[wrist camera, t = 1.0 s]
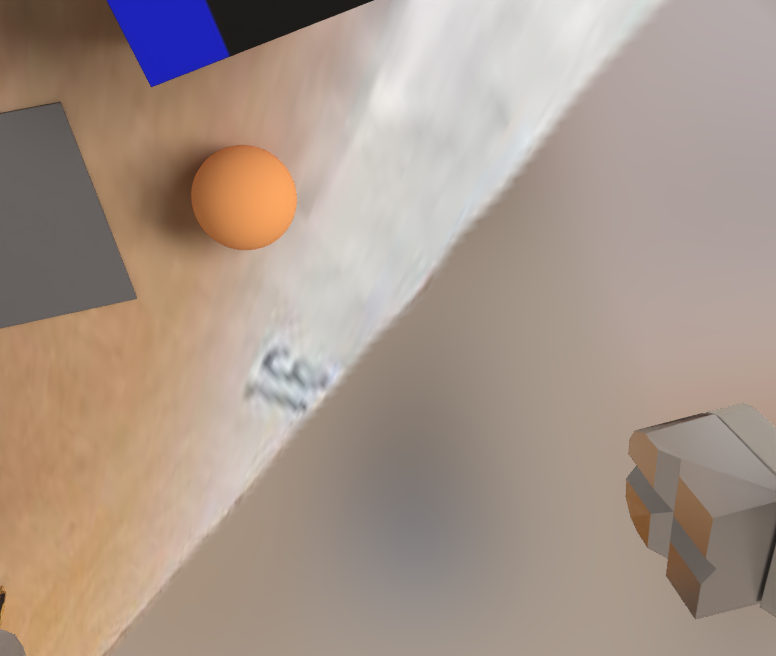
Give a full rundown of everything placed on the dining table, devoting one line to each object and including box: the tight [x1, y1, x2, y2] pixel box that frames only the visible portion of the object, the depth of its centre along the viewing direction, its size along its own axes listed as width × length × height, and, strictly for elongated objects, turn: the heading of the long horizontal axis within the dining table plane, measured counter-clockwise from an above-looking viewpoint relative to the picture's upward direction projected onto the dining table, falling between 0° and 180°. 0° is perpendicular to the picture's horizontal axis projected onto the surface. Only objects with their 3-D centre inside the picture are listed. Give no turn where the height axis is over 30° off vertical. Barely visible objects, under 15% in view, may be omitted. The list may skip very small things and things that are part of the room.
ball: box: [191, 145, 297, 250], centre depth 38 cm, size 6×6×6 cm
